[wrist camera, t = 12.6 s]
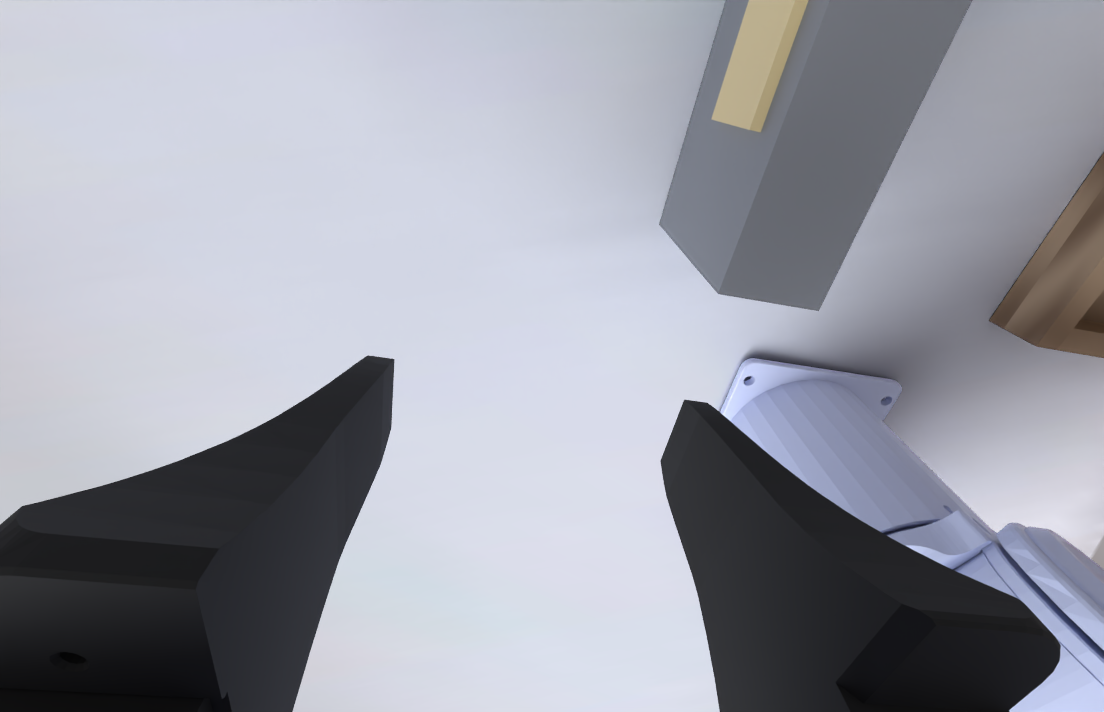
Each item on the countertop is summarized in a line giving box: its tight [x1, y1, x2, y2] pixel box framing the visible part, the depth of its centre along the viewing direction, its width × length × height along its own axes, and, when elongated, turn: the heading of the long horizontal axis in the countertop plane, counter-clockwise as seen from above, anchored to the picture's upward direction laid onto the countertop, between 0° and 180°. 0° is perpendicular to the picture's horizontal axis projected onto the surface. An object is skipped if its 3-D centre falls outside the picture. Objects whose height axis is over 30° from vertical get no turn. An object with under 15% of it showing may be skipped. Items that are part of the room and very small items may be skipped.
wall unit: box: [659, 0, 972, 311], centre depth 14 cm, size 14×3×7 cm, turn 169°
